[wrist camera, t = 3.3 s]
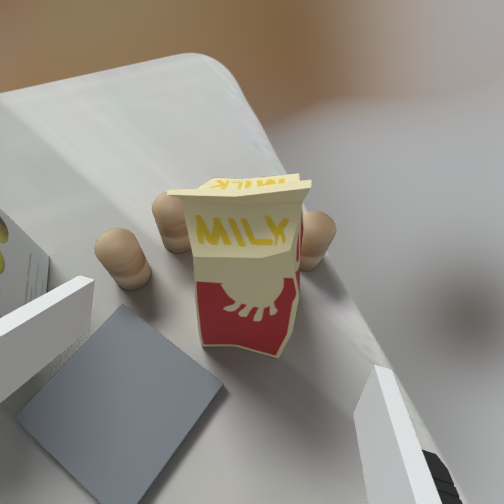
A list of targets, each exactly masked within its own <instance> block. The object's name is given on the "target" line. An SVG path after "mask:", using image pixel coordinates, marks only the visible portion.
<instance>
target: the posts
mask: <svg viewBox="0 0 504 504" xmlns="http://www.w3.org/2000/svg"><path fill="white" fill-rule="evenodd" d="M259 178H260V177H259ZM152 212H153V215H154V218H155V221H156V224H157V227H158V229H159V232H160V235H161V238H162V241H163V243H164V246H165V247H166V248H167V249H168V250H169V251H171V252H175V253H183V252H186V251H188V250H190V249H191V244H190V239H189V234H188V229H187V225H186V220H185V215H184V210H183V205H182V200H181V198H177V197H173V196H169V195H167V192H164V193H162V194H160V195H159V196H157V197H156V198H155V200H154V202H153V204H152ZM303 222H304V230H303V239H302V247H301V256H300V270H302V271H311V270H313V269H315V268H316V267H317V266H318V265H319V264H320V262H321V260H322V258H323V256H324V255H325V253H326V251H327V249H328V247H329V245H330V244H331V242H332V240H333V238H334V236H335V234H336V226H335V223H334V221H333V220H332V219H331V218H330V217H329V216H328V215H327V214H325V213H323V212H319V211H310V212H307V213H305V214H303ZM94 249H95V255H96V257H97V258H98V259H99V261H100V262H101V263H102V265H103V266H104V267H105V268H106V270H107V271H108V272H109V274H110V275H111V276H112V278H113V279H114V280H115V281H116V283H117V284H118V285H119V286H120V287H121V288H123V289H126V290H136V289H139V288H141V287H143V286H144V285H145V284H146V283H147V282H148V280H149V279H150V276H151V268H150V265H149V263H148V261H147V259H146V257H145V255H144V253H143V251H142V249H141V247H140V245H139V243H138V241H137V239H136V237H135V235H134V234H133V233H132V232H130V231H129V230H126V229H122V228H116V229H111V230H108V231H106V232H105V233H103V234H102V235H101V236H100V237H99V238H98V240H97V241H96V244H95V248H94Z"/></svg>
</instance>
